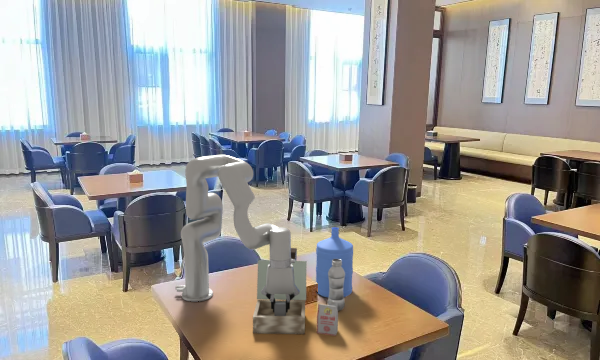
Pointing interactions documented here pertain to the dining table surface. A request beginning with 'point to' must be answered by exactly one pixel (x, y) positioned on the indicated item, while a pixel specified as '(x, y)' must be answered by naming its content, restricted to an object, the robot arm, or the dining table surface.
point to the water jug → (325, 255)
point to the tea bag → (327, 320)
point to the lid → (298, 276)
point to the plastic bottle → (336, 284)
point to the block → (280, 308)
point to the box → (279, 318)
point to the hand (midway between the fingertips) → (280, 310)
